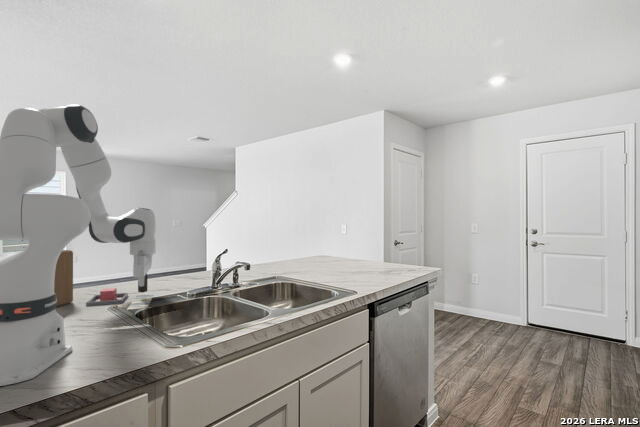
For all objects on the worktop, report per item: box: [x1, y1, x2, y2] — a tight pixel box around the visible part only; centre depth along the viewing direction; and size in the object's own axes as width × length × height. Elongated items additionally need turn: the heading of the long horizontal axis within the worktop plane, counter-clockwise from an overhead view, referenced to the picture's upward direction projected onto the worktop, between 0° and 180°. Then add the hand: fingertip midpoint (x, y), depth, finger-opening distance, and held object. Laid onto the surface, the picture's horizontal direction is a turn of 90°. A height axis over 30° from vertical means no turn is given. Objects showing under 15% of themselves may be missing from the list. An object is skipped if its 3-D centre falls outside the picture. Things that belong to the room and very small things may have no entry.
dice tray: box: [85, 292, 129, 307], centre depth 125 cm, size 11×11×2 cm
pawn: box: [137, 273, 149, 293], centre depth 128 cm, size 3×3×8 cm
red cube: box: [99, 287, 118, 301], centre depth 125 cm, size 4×4×4 cm
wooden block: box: [54, 249, 74, 308], centre depth 121 cm, size 10×10×20 cm
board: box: [126, 293, 155, 310], centre depth 125 cm, size 20×7×1 cm, turn 20°
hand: (142, 284), depth 128 cm, fingers closed on pawn, 3 cm apart
